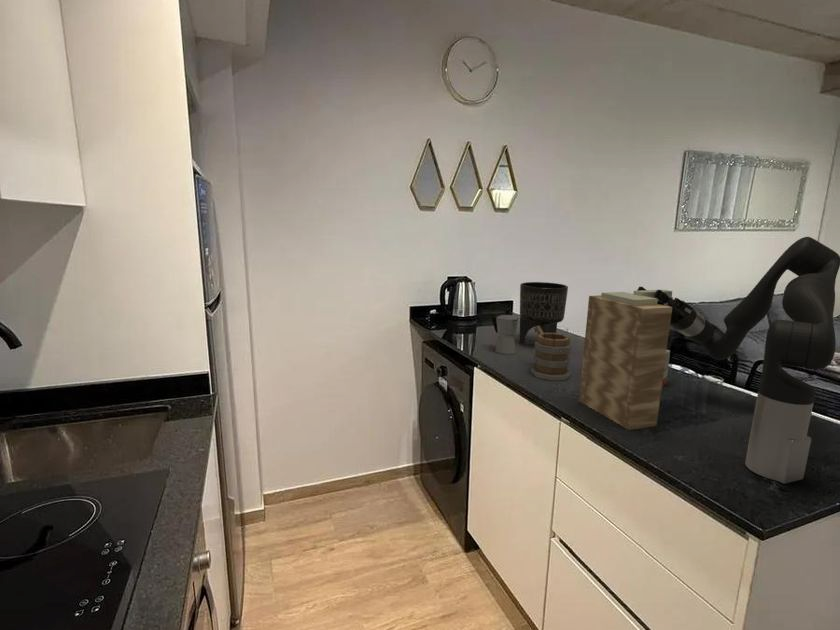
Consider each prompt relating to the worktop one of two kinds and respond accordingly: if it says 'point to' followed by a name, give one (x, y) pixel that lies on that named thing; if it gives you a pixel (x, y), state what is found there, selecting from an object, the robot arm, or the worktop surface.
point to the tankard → (551, 356)
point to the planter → (541, 306)
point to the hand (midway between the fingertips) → (647, 291)
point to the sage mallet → (635, 297)
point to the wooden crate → (624, 361)
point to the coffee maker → (505, 332)
